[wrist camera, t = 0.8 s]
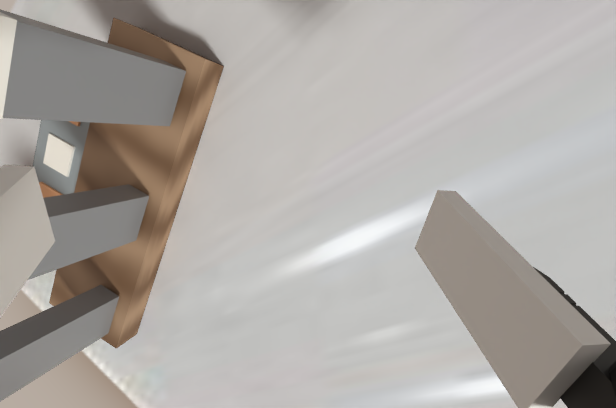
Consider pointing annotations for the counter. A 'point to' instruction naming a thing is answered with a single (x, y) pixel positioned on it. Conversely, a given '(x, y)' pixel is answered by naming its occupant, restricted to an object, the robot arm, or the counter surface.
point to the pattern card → (59, 155)
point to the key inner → (80, 77)
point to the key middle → (91, 224)
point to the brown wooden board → (141, 181)
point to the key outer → (53, 337)
